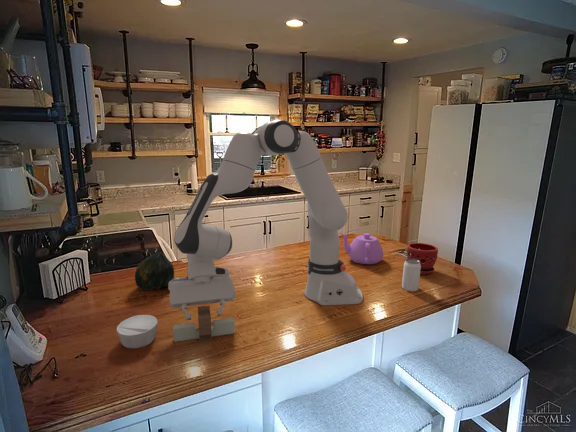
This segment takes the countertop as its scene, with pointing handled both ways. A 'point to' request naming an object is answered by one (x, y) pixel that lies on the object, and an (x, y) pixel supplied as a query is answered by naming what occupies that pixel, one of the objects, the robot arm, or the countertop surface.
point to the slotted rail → (190, 332)
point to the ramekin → (137, 331)
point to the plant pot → (423, 256)
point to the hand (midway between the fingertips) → (204, 317)
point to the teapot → (364, 249)
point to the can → (411, 274)
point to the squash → (154, 272)
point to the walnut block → (204, 324)
